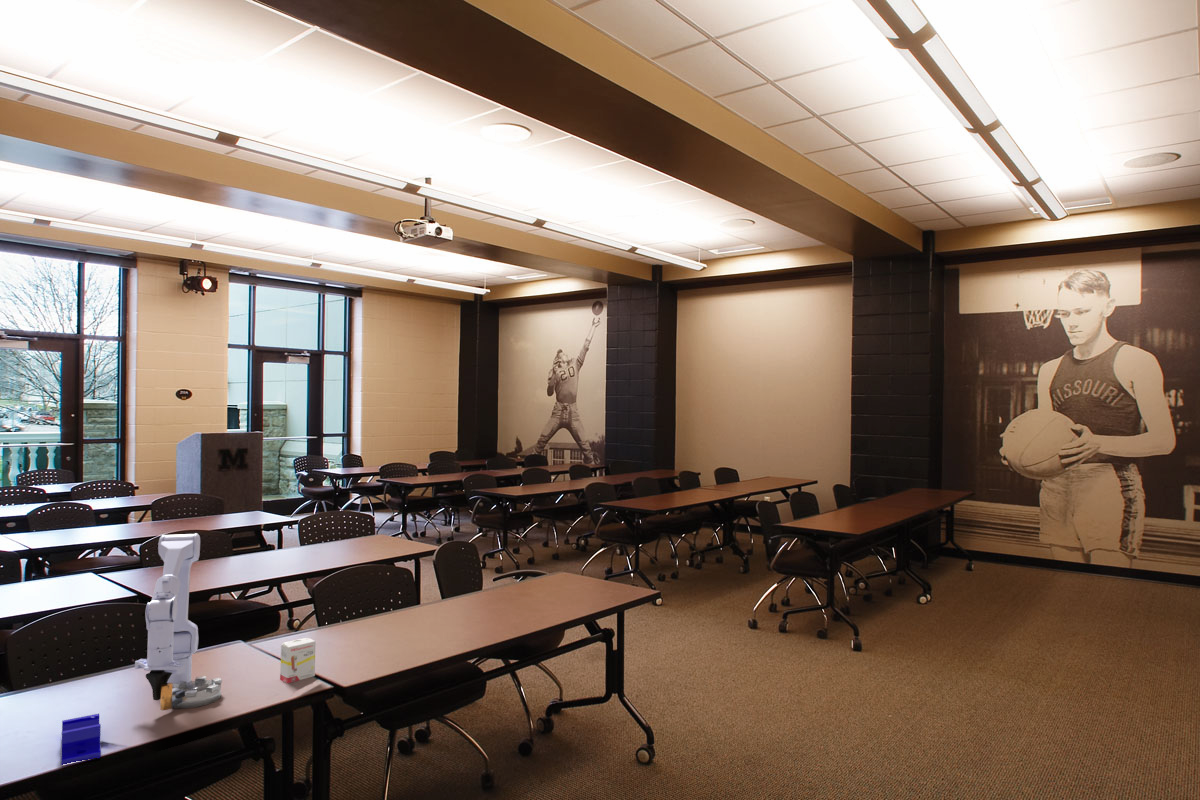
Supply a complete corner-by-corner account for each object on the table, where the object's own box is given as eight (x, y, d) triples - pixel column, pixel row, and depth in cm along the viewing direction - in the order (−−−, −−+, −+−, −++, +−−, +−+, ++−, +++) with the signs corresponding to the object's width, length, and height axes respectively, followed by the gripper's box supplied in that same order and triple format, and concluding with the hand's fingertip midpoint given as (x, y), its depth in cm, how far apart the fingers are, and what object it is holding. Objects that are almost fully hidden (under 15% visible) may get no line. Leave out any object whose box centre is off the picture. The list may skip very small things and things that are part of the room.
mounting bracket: (100, 759, 164) (101, 732, 164) (61, 768, 159) (62, 741, 160) (97, 731, 178) (98, 706, 178) (61, 738, 174) (62, 713, 174)
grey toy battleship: (193, 689, 202) (194, 662, 202) (231, 693, 199) (231, 665, 199) (141, 713, 185) (142, 684, 185) (181, 718, 182) (182, 688, 182)
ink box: (286, 688, 206) (287, 646, 207) (279, 683, 210) (280, 643, 210) (315, 680, 213) (316, 640, 213) (307, 676, 216) (308, 636, 216)
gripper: (124, 647, 184) (123, 701, 183) (169, 653, 180) (167, 708, 179) (149, 639, 191) (147, 691, 190) (192, 645, 186) (191, 697, 186)
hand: (158, 698), depth 185 cm, fingers closed
